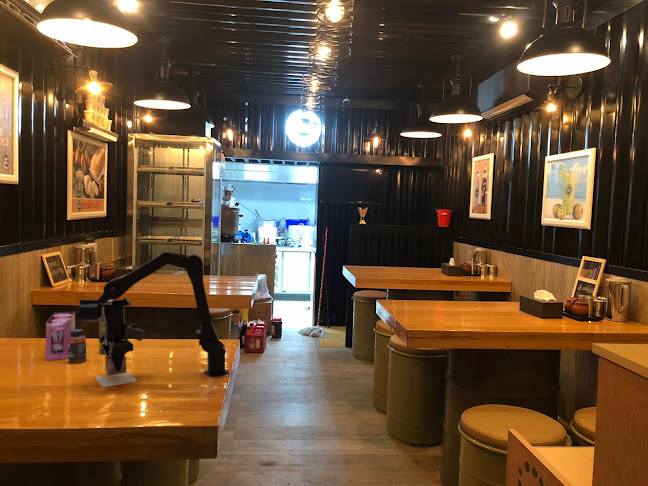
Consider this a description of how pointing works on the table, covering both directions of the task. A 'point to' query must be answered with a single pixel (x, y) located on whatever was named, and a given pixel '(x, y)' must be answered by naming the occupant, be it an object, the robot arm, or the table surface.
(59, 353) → the gum box
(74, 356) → the supplement bottle
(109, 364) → the walnut cube
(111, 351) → the robot arm
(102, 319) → the sauce bottle
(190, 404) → the table surface
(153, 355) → the table surface
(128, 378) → the stone coaster
